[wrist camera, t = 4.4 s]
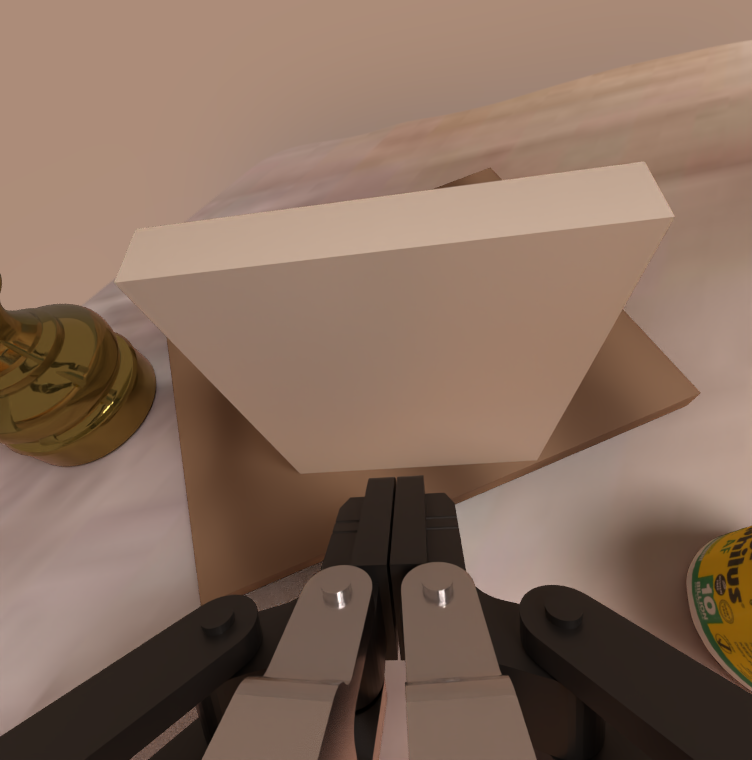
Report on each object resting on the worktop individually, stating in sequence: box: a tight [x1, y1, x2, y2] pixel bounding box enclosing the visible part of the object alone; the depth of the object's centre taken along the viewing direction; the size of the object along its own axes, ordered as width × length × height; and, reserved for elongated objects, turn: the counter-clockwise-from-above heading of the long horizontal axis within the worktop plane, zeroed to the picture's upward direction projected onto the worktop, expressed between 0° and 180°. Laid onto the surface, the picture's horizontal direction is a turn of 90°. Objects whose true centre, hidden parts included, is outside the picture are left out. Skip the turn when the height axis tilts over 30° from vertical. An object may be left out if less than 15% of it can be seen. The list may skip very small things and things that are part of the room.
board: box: [167, 168, 700, 606], centre depth 22 cm, size 22×18×1 cm
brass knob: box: [0, 274, 156, 466], centre depth 19 cm, size 7×8×10 cm
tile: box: [114, 162, 675, 474], centre depth 13 cm, size 10×2×12 cm, turn 91°
